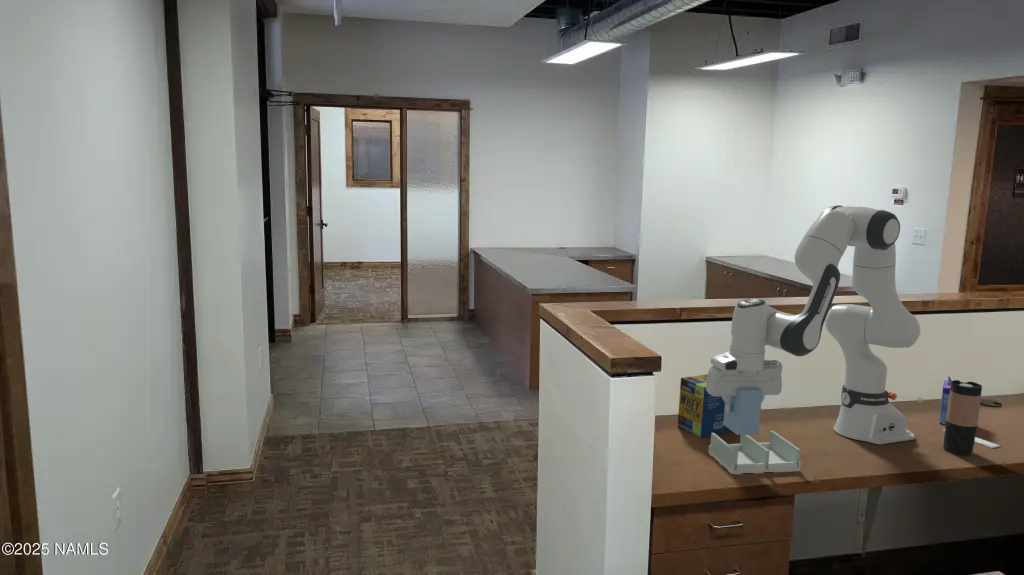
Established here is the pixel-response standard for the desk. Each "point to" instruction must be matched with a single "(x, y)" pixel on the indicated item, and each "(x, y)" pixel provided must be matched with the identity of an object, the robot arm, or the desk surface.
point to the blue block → (744, 411)
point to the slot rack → (756, 454)
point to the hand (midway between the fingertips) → (742, 410)
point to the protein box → (700, 408)
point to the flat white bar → (984, 442)
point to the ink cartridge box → (945, 400)
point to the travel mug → (962, 417)
